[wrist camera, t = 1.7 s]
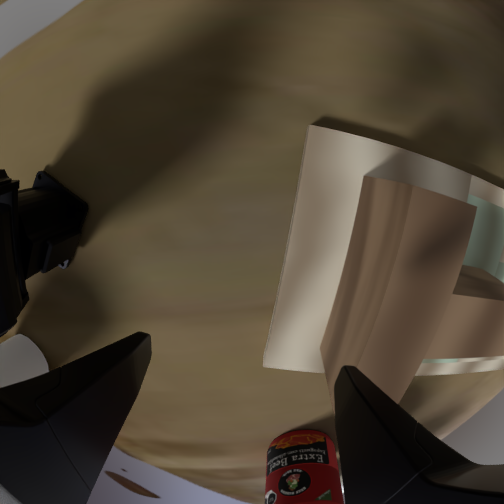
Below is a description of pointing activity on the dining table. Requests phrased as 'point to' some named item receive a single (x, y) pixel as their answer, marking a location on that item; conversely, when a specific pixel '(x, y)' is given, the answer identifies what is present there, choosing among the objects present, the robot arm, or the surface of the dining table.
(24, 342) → the foam cup
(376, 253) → the t block
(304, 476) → the canned food
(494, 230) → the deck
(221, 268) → the dining table surface
